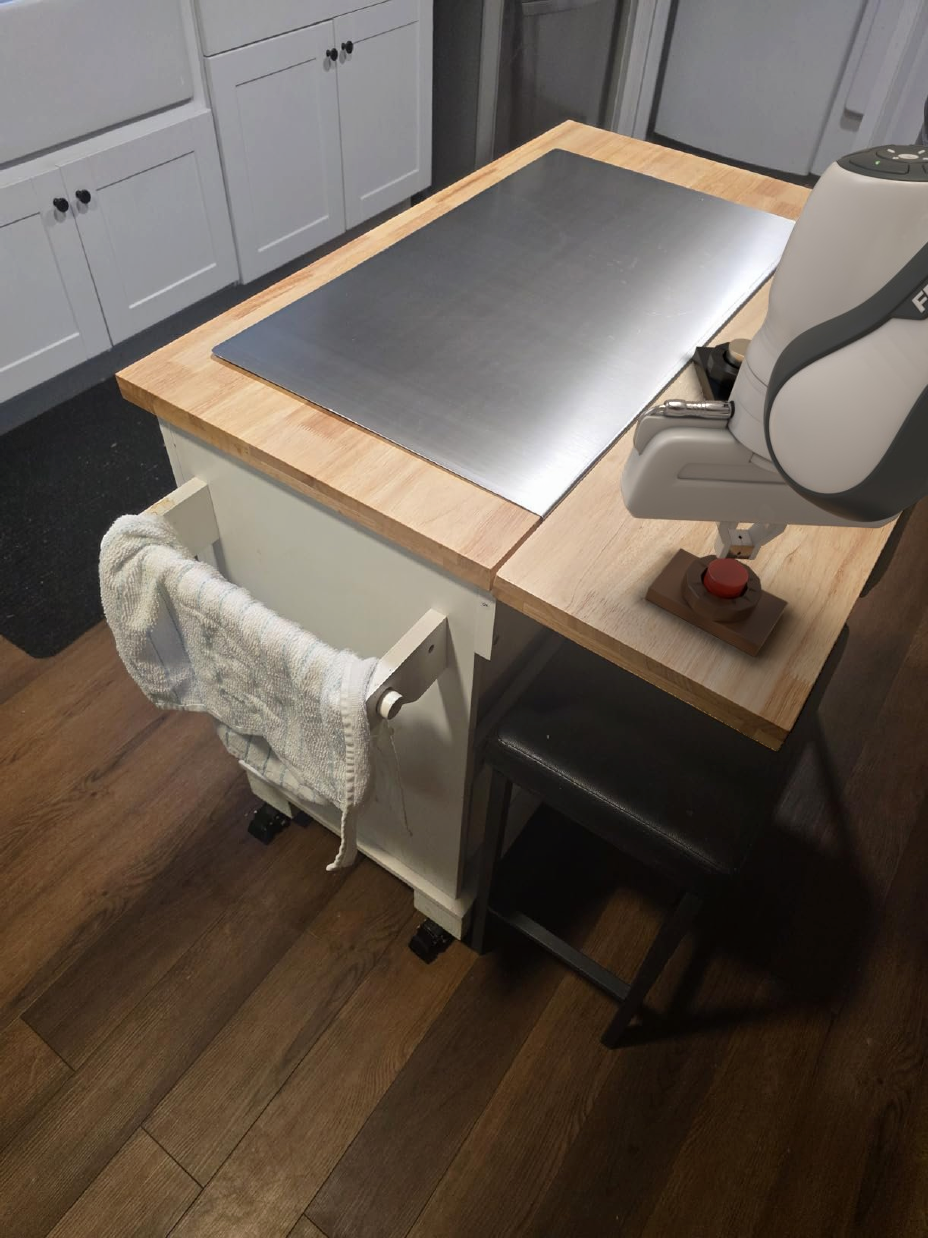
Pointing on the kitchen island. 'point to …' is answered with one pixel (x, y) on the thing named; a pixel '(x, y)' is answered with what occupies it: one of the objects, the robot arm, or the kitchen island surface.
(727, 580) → the bell button
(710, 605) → the block
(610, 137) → the kitchen island surface
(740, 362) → the switch button
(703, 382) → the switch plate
